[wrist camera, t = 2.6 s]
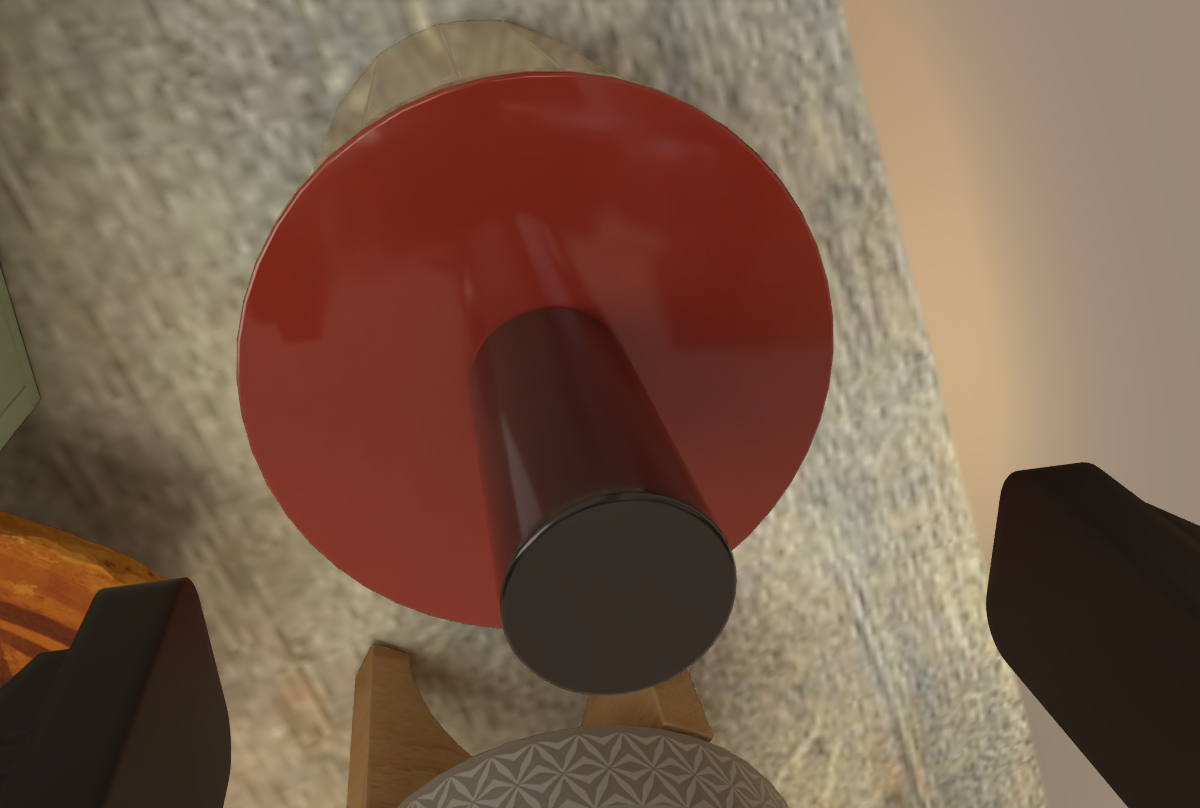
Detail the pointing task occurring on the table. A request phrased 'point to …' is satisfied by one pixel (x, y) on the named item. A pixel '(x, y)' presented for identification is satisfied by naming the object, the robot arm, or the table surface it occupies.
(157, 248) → the table surface
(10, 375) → the green square box
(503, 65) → the pot
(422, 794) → the planter
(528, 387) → the lid
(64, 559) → the pottery fragment
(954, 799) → the table surface
